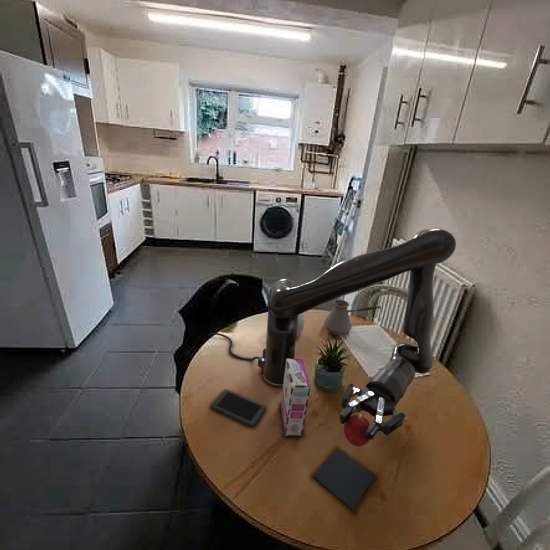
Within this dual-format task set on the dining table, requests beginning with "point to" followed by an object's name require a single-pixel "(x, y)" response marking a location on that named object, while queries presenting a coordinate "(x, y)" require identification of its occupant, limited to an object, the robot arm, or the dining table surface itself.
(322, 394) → the dining table surface
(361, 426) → the onion
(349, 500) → the front mat
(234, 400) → the cell phone
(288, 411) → the candy bar box
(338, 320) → the coffee pot
